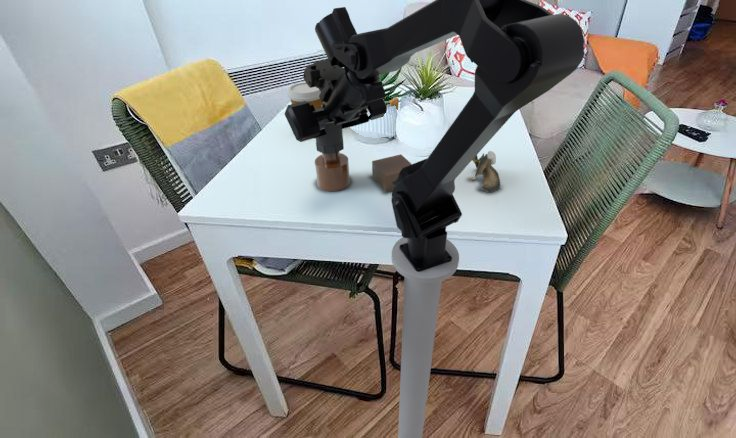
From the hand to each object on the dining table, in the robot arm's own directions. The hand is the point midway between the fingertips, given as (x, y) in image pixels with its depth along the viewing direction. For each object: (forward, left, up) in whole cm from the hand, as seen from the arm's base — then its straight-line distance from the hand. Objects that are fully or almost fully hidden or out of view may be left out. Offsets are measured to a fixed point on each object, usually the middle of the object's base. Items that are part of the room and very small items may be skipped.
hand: (325, 131), depth 76 cm
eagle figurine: (-14, -29, -12) cm, 35 cm away
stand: (-6, -12, -11) cm, 18 cm away
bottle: (-1, 0, -11) cm, 12 cm away
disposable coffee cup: (+27, -3, -12) cm, 29 cm away
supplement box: (+15, -21, -12) cm, 28 cm away
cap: (-1, 0, -3) cm, 3 cm away
